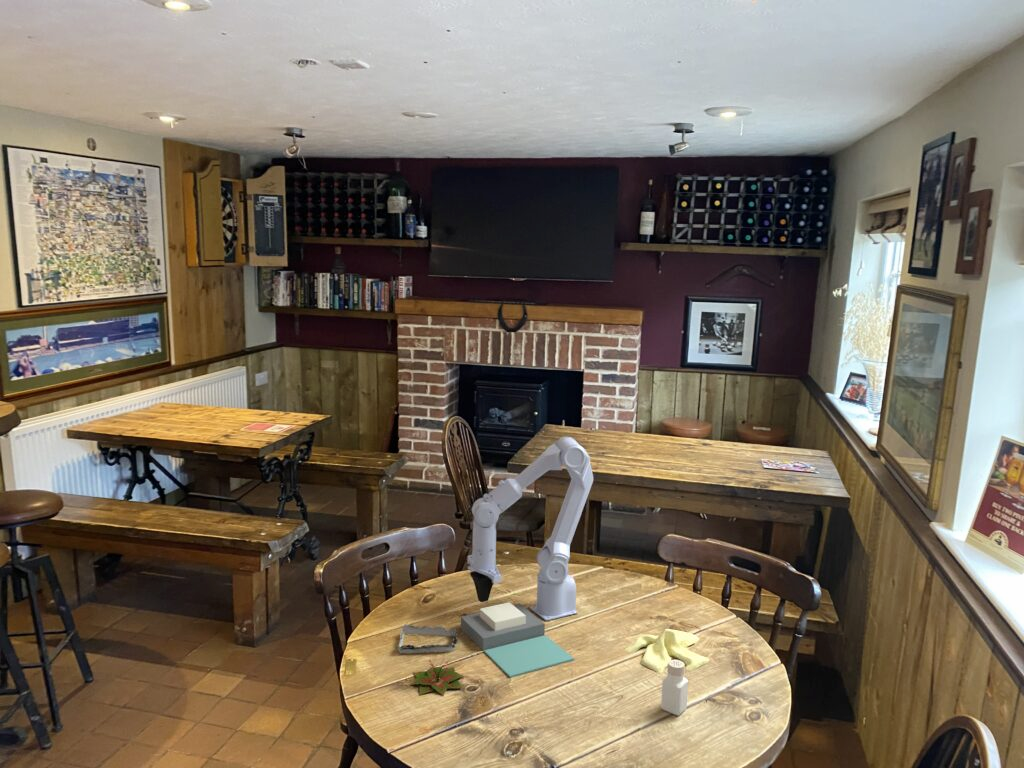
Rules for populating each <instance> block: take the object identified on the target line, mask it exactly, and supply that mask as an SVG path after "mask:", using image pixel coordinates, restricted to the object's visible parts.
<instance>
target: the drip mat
mask: <svg viewBox="0 0 1024 768" xmlns="http://www.w3.org/2000/svg"><path fill="white" fill-rule="evenodd" d="M483 652H484V654H486V655H487V656H488V657H489V659H490V660H492V661H493V662H494V663H495V665H497V666H498V667H499V668H500V670H502V671H503V673H505V675H507V676H508V677H509V678H514V677H518V676H521V675H525V674H529V673H532V672H536V671H539V670H543V669H546V668H552V667H554V665H555V666H559V665H562V664H564V662H565V663H570V662H573V661H575V658H574V657H573V656H572V655H571V654H569V653H568V652H567V651H566V650H565V649H563V647H561V646H559V644H557V643H556V642H555V641H553V639H552V638H550V637H549V636H547V635H546V634H544V636H540V637H536V638H532V639H528V640H524V641H520V642H516V643H512V644H508V645H504V646H500V647H496V648H492V649H488V650H484V651H483ZM561 663H562V664H561Z"/></svg>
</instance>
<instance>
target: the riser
mask: <svg viewBox="0 0 1024 768" xmlns="http://www.w3.org/2000/svg"><path fill="white" fill-rule="evenodd" d="M512 605H513V606H515V607H516V608H517V609H518V610H520V611H521V612H522V613H523V614H525V615H526V624H522V625H518V626H514V627H510V628H505V629H501V630H497V631H495V630H494V629H493V628H492V627H490V626H489V625H488V624H487V623H486V622H485V621H484V620H483V619H482V618H481V617H480V612H476V613H471V614H468V615H467V614H466V615H462V616H460V630H461V631H463V633H464V634H465V635H466V636H467V637H468V638H469V639H471V640H472V641H473V642H474V643H475V644H476V645H477V647H479V649H480V650H482V652H484V650H488V649H492V648H496V647H500V646H504V645H508V644H512V643H516V642H520V641H524V640H528V639H532V638H536V637H540V636H544V635H545V634H546V633H545V629H546V627H545V626H546V624H545V622H543V621H542V620H541V619H540V618H538V616H536V615H535V614H534V613H532V612H531V611H529V610H528V609H527V608H526V607H525V606H523V605H522V604H521V603H516V604H512Z"/></svg>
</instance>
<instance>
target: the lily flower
mask: <svg viewBox="0 0 1024 768" xmlns="http://www.w3.org/2000/svg"><path fill="white" fill-rule="evenodd" d="M444 660H445V659H444V658H443V659H442V660H441V662H443V661H444ZM428 662H430V663H429V665H430V667H429V668H428V669H426V671H425V670H423V671H422V670H421V671H417V672H412V673H413V674H414V676H415V677H416V678H415V679H414V680H413V681H412V683H410V684H409V686H413V685H419V684H420V686H419V696H421V695H424V694H427V693H430V692H434V691H437V692H438V693H439V694H441V696H444V695H445V693H446V691H447V690H448V689H462V690H463V689H465V688H463V686H462V684H461V683H460V681H457V679H460V678H463V677H466V676H465V675H462V674H460V673H459V672H456V669H455V666H452V667H451V666H450V667H445V665H447V664H449V661H447V662H445V663H444V664H440V665H439V666H436V665H434V664H433V663H432V661H431V660H428ZM439 678H440V679H439ZM441 679H442V680H441ZM432 680H433V681H434V680H435V682H436V683H434V682H433V681H432ZM440 680H441V683H440ZM431 681H432V682H431ZM448 682H449V683H448ZM438 683H439V684H438ZM437 684H438V685H437ZM428 686H431V687H428ZM428 688H429V689H428Z"/></svg>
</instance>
